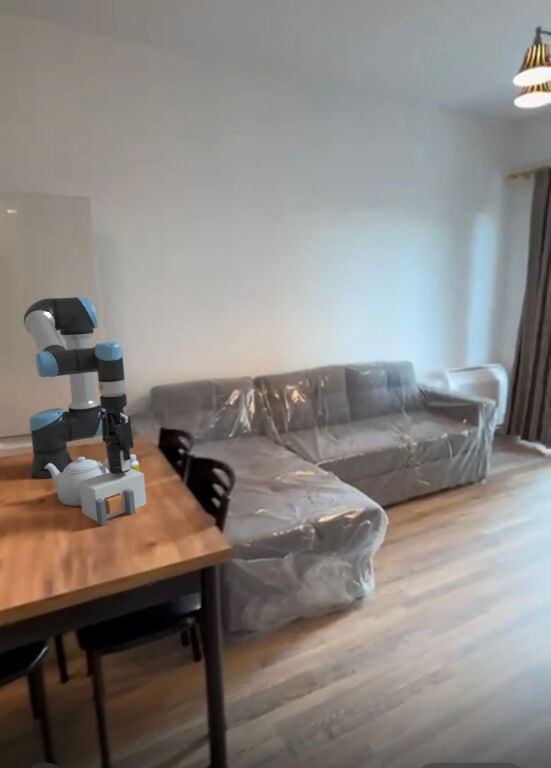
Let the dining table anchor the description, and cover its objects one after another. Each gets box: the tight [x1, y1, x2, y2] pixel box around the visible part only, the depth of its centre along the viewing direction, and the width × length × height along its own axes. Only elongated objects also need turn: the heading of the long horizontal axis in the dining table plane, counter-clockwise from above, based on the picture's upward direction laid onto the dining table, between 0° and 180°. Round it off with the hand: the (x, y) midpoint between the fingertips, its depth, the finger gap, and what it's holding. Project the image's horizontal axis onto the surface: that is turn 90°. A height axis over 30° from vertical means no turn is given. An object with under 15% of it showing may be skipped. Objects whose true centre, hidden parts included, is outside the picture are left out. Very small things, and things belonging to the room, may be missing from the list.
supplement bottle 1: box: [105, 431, 132, 474], centre depth 148 cm, size 7×7×12 cm
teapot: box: [44, 456, 109, 507], centre depth 158 cm, size 19×18×14 cm
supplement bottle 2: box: [130, 453, 140, 472], centre depth 169 cm, size 5×5×10 cm
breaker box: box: [79, 469, 147, 527], centre depth 147 cm, size 13×16×10 cm
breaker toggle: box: [104, 494, 123, 514], centre depth 144 cm, size 8×4×4 cm, turn 47°
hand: (120, 467), depth 149 cm, fingers closed on supplement bottle 1, 7 cm apart
